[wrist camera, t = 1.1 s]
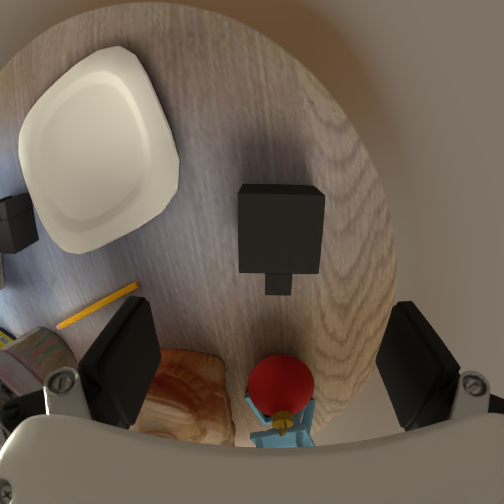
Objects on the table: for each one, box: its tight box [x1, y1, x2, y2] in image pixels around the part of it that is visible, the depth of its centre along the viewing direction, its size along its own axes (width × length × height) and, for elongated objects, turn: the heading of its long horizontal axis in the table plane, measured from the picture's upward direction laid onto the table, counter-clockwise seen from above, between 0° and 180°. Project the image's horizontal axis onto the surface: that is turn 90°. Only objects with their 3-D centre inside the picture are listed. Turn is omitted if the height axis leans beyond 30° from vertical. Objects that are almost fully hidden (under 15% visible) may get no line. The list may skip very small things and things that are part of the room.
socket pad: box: [0, 192, 39, 254], centre depth 22 cm, size 6×6×4 cm
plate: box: [19, 46, 180, 254], centre depth 21 cm, size 18×18×2 cm
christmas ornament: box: [248, 354, 314, 437], centre depth 25 cm, size 7×7×10 cm
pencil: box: [55, 281, 140, 331], centre depth 28 cm, size 1×18×1 cm, turn 118°
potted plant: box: [0, 327, 77, 410], centre depth 21 cm, size 18×20×25 cm
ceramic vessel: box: [129, 349, 236, 447], centre depth 26 cm, size 14×26×15 cm, turn 2°
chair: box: [245, 392, 315, 448], centre depth 27 cm, size 8×8×12 cm
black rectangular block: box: [238, 184, 325, 295], centre depth 22 cm, size 8×6×4 cm
